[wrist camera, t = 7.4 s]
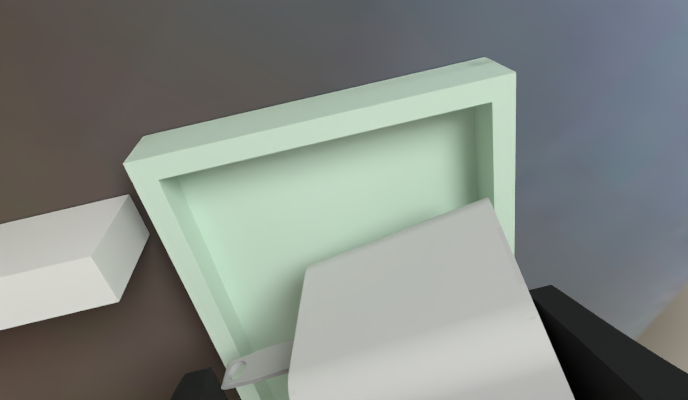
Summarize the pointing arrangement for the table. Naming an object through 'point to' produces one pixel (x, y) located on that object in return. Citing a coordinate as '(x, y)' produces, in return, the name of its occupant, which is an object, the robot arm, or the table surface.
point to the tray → (319, 190)
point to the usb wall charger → (417, 321)
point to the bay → (68, 260)
